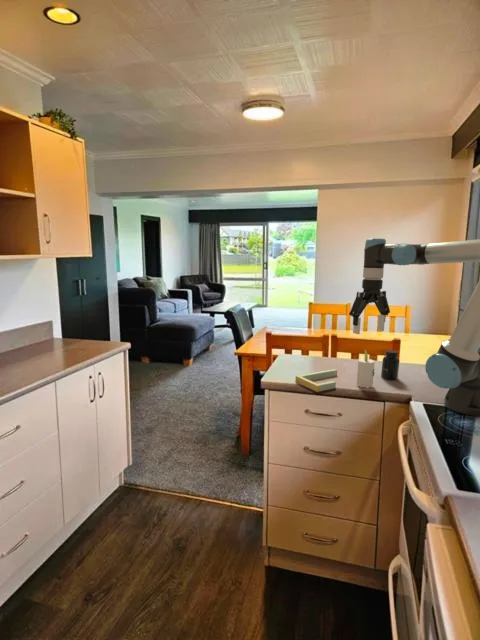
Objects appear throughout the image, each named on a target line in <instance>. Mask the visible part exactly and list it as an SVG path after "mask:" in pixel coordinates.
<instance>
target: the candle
mask: <svg viewBox="0 0 480 640" xmlns="http://www.w3.org/2000/svg"><path fill="white" fill-rule="evenodd" d="M368 355H369V354H368V352H367V350H366V349H364V356H363V357H364V358H359V359H358V360H357V362H358V363H357V373H356V374H357V375H356V386H357V385H358V386H357V387H359V386H360V387H359V388H362V387H372V386H374V377H375V362H376V361H375V360H374V359H371V358H369V357H368ZM372 388H373V387H372Z"/></svg>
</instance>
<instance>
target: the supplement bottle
mask: <svg viewBox="0 0 480 640" xmlns="http://www.w3.org/2000/svg"><path fill="white" fill-rule="evenodd" d="M398 354H399V352H398V351H397V350H391V349H387V350H385V356H384V357H382V362H381V363H382V364H381V373H380V377H381V378H382V379H383V380H387V381H397V380H398V377H399V369H400V359H399V358H398ZM396 379H397V380H396Z"/></svg>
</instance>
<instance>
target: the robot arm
mask: <svg viewBox="0 0 480 640" xmlns="http://www.w3.org/2000/svg"><path fill="white" fill-rule="evenodd" d="M455 263H457V264H460V263H461V264H462V263H480V238H479V239H469V240H468V239H467V240H455V241H444V242H434V243H433V242H432V243H420V244H418V243H417V244H415V243H414V244H411V243H387V241H386V239H385V238H367V239H366V240H365V245H364V255H363V270H362V271H363V273H362V278H364V279H362V282H361V283H362V284H361V288H362V289H363V291H357V292H356V296H355V299H354V301H353V304H352V306H351V308H350V311H349V313H348V314H349V316H351V317H352V325H353V329H352V330H353V331H352V333H353V334H355V335H360V332H361V319H362V317H360V316H361V315H362V313H363V312H364V310H365V309H366V307H367V306H368V305H369V304H372V303H374V305H375V307H376V308H377V310H378V312H379V314H378V317H377V329H376V330H377V331H379V332H380V331H381V332H384V331H385V324H386V319H387V318H386V316H388V315H389V313H391V310H390V306H389V303H388V298H387V291H386V290H384V289H383V285H384V284H383V282H384V281H383V279H384V270H385V265H394V266H395V265H396V266H409V265H422V266H423V265H429V264H430V265H432V264H434V265H435V264H455ZM382 289H383V290H382ZM424 365H425V369H424V370H425V372H426V375H427V378H428V379H429V381H430V382H431V383H432V384H434V385H435V386H437V387H438V388H440V389H446V390H447V389H448V390H447V392H446V394H445V396H444V399H443V400H444V402H443V406H445V407H446V408H448V409H449V410H450V411H453V412H456V413H458V414H463V415H467V416H473V417H474V416H476V417H480V279H479V280H478V282H477V284H476V286H475V288H474V290H473V292H472V294H471V296H470V298H469V300H468V302H467V304H466V306H465V308H464V310H463V312H462V313H461V316H460V317H459V320H458V322H457V324H456V325H455V328H454V330H453V332H452V333H451V336H450V338H449V339H446V340H443V341H442V342H441V345H440V346H439V348H438V350H437V353H432V354H431V355H430V356H429V357H428V358H427V360H426V361H425V364H424Z"/></svg>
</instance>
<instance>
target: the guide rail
mask: <svg viewBox="0 0 480 640" xmlns="http://www.w3.org/2000/svg"><path fill="white" fill-rule="evenodd" d="M337 375H338V369H336V368H333V369H328V370H327V369H326V370H323V371H316V372H315V371H314V372H310V373H305V374H304V373H303V374H299V375H295V383H297V384H300V385H302V386H303V387H306V388H308V389H310V390H312V391H314V392H316V393H318V392H324V391H329V390H332V389H333V390H334V389H336V388H337V387H336V386H337V382H336V381H333V380H331V381H330V380H329V381H326V382H322V383H316V382H314V381H315V380H319V379H325V378H331V377H338V376H337Z"/></svg>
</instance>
